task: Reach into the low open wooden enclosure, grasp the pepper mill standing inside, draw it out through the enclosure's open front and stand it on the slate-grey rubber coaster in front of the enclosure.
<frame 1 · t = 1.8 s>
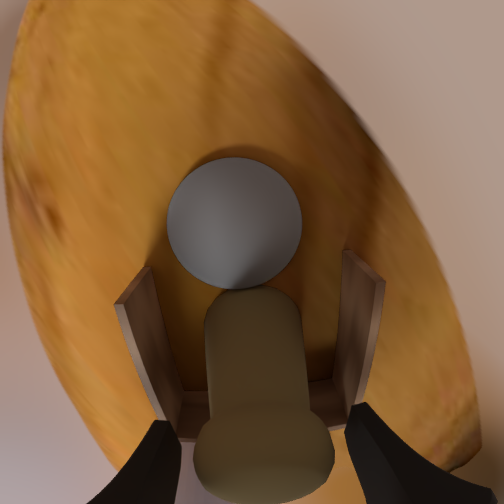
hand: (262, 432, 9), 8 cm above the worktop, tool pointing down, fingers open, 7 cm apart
open wooden enclosure: (253, 337, 17), on the worktop
pepper mill: (252, 326, 17), on the worktop
coaster: (234, 224, 15), on the worktop
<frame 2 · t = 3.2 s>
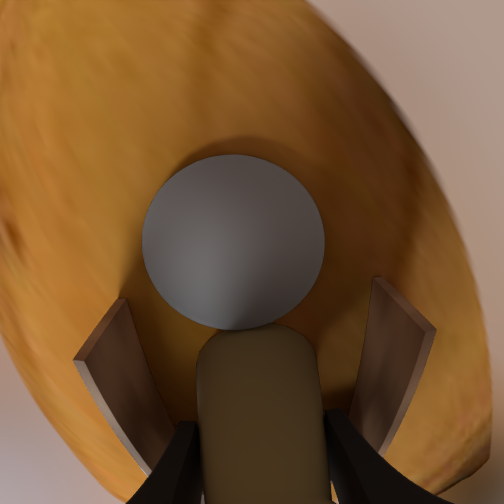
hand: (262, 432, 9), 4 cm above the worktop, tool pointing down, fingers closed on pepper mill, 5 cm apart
open wooden enclosure: (257, 380, 13), on the worktop
pepper mill: (256, 368, 13), on the worktop, touching gripper
coaster: (232, 245, 11), on the worktop
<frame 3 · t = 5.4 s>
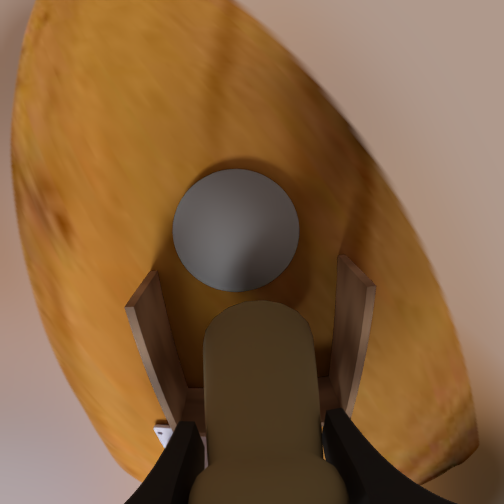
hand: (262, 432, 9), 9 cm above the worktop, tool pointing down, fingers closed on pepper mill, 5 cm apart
open wooden enclosure: (253, 336, 18), on the worktop
pepper mill: (258, 345, 15), point 3 cm above the worktop, touching gripper
coaster: (235, 231, 16), on the worktop
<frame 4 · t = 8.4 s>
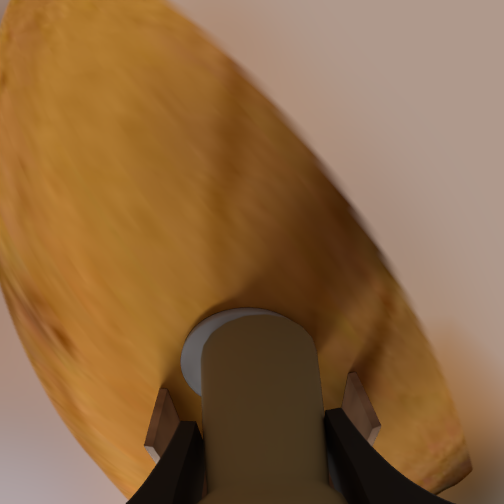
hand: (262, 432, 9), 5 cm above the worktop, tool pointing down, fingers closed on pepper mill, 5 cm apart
open wooden enclosure: (262, 433, 17), on the worktop
pepper mill: (259, 360, 14), resting on coaster, touching gripper
coaster: (246, 362, 15), on the worktop
when the fingers open (5 cm above the worktop, at t = 9.2 s): pepper mill stays where it is, resting on coaster.
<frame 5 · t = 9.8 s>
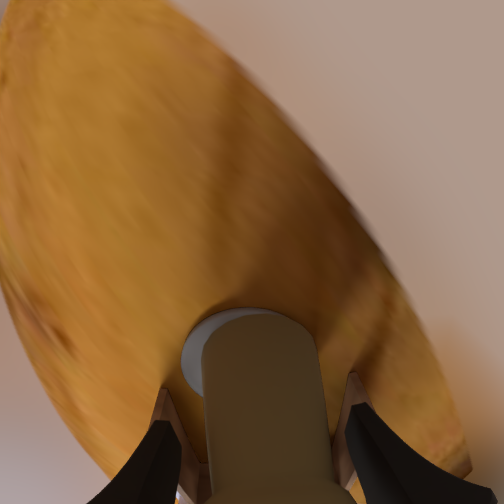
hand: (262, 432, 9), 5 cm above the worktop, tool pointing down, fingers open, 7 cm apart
open wooden enclosure: (262, 433, 17), on the worktop
pepper mill: (259, 359, 14), resting on coaster
coaster: (246, 362, 15), on the worktop
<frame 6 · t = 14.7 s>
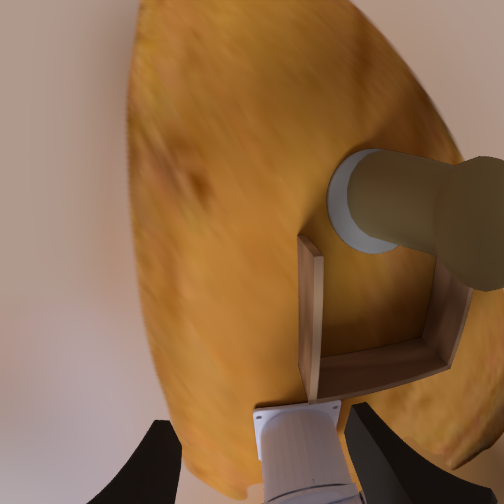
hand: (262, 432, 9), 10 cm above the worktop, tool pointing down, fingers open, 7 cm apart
open wooden enclosure: (376, 298, 20), on the worktop
pepper mill: (386, 195, 17), resting on coaster
coaster: (375, 201, 17), on the worktop
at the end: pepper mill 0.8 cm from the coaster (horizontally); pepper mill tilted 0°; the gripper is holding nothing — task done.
